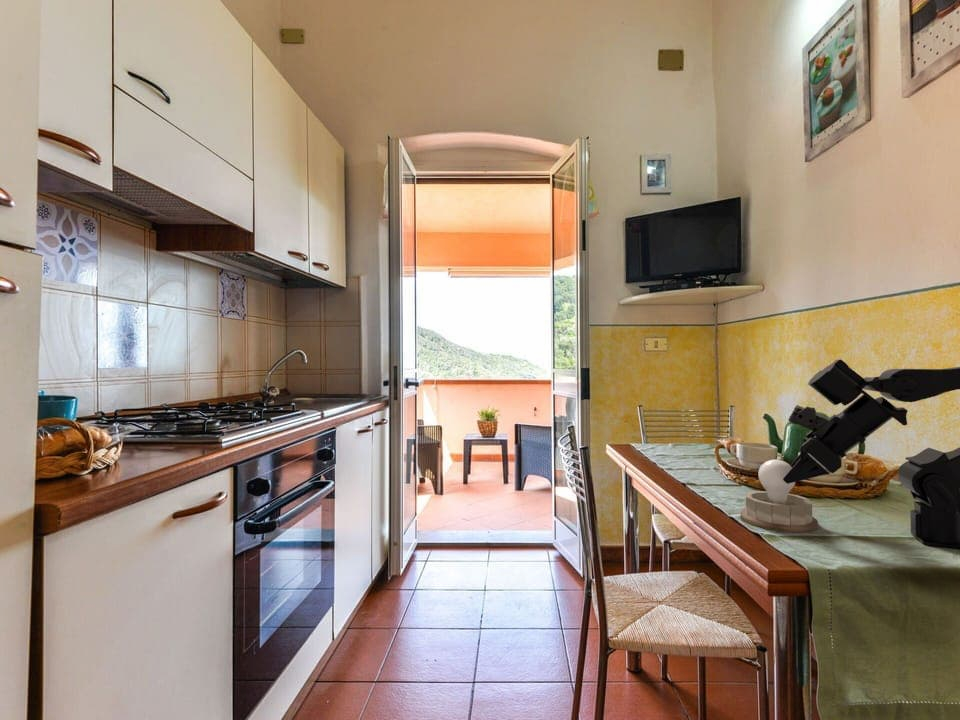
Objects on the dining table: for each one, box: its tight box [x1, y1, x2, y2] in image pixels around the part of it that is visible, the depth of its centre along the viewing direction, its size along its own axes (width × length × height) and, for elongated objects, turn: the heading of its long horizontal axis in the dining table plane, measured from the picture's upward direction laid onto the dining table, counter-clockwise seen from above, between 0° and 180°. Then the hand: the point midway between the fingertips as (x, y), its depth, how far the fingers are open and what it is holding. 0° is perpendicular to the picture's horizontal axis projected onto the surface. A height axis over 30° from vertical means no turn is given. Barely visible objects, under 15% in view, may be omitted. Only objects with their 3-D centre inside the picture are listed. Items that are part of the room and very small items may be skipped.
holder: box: [740, 490, 819, 533], centre depth 98 cm, size 13×13×4 cm
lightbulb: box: [757, 459, 796, 505], centre depth 98 cm, size 6×6×11 cm
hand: (786, 476), depth 97 cm, fingers open, 9 cm apart
